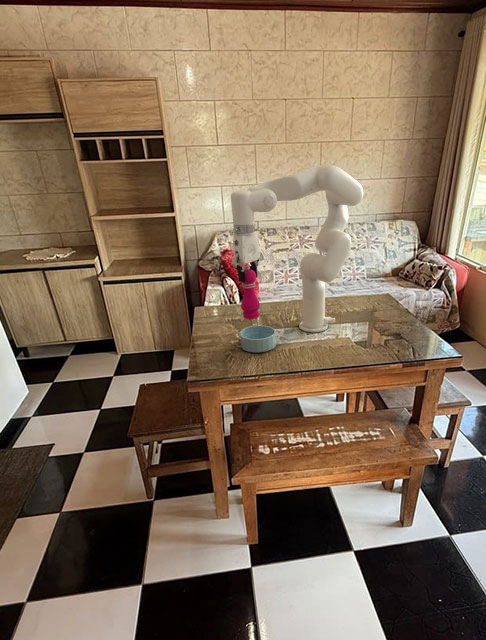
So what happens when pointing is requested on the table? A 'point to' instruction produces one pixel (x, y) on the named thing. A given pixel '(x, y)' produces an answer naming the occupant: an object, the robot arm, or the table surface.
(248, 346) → the bowl
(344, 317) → the table surface
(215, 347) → the table surface
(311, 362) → the table surface
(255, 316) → the pepper mill
